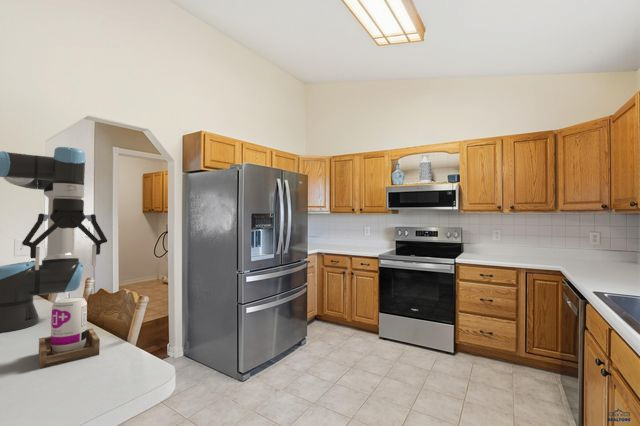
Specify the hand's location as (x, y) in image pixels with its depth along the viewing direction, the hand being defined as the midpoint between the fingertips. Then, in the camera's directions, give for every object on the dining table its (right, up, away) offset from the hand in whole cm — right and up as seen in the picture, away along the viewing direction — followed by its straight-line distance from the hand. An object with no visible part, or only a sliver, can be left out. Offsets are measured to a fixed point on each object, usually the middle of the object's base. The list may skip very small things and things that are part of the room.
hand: (66, 267), depth 96 cm
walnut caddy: (+4, -25, -4) cm, 26 cm away
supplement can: (+4, -24, -4) cm, 25 cm away
